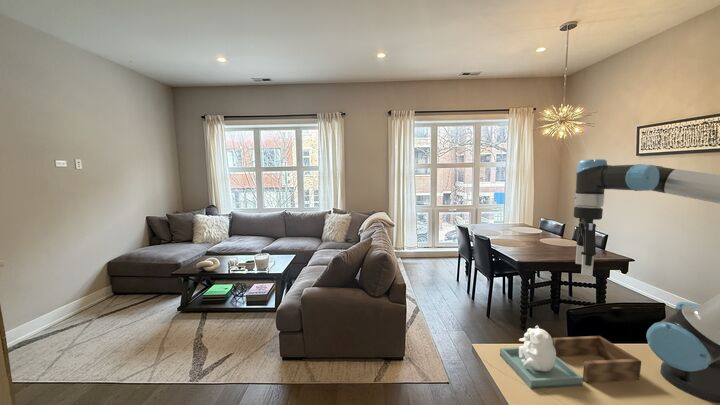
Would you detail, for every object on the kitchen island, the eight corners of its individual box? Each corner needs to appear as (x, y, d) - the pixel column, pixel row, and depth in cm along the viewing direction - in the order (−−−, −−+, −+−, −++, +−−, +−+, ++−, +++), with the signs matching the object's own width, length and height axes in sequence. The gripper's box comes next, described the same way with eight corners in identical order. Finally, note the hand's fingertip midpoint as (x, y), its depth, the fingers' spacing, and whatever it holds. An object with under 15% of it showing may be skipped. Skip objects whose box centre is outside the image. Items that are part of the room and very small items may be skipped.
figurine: (548, 358, 95) (550, 323, 94) (562, 379, 85) (565, 340, 84) (515, 354, 97) (517, 320, 96) (525, 374, 87) (527, 336, 86)
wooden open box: (598, 352, 100) (599, 335, 99) (639, 380, 86) (641, 361, 86) (551, 354, 98) (552, 337, 98) (586, 383, 85) (587, 363, 84)
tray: (543, 353, 99) (544, 346, 99) (582, 385, 84) (582, 377, 84) (499, 355, 98) (500, 348, 98) (530, 389, 82) (531, 380, 82)
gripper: (569, 203, 109) (565, 258, 111) (579, 209, 88) (574, 278, 90) (595, 204, 106) (590, 261, 107) (612, 211, 84) (605, 282, 86)
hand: (583, 269), depth 99 cm, fingers open, 13 cm apart
